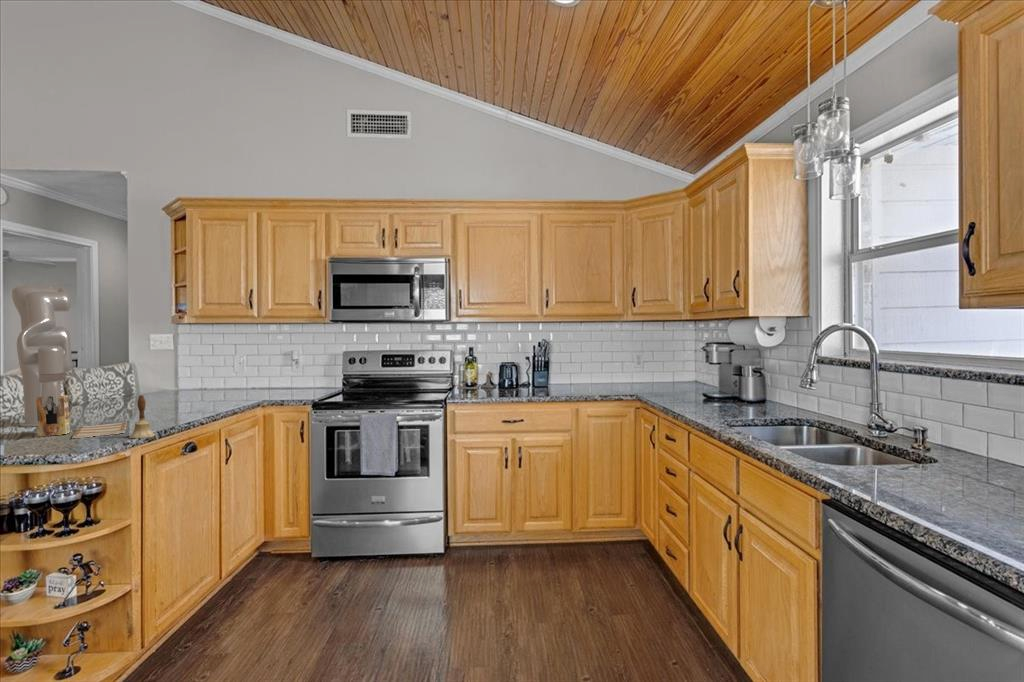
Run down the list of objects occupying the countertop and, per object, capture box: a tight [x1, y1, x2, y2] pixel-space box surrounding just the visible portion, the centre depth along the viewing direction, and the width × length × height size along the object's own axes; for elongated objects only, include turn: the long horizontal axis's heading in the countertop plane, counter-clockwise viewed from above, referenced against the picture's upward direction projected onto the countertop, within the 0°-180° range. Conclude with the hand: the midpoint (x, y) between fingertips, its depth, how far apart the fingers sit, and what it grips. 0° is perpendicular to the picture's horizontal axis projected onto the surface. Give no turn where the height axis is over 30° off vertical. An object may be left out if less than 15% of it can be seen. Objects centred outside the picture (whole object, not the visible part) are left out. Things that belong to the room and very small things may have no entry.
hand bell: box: [129, 394, 156, 439], centre depth 208 cm, size 8×8×16 cm
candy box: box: [36, 394, 71, 437], centre depth 213 cm, size 9×4×15 cm, turn 110°
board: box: [72, 421, 128, 439], centre depth 219 cm, size 22×16×2 cm
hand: (53, 421), depth 213 cm, fingers open, 9 cm apart
